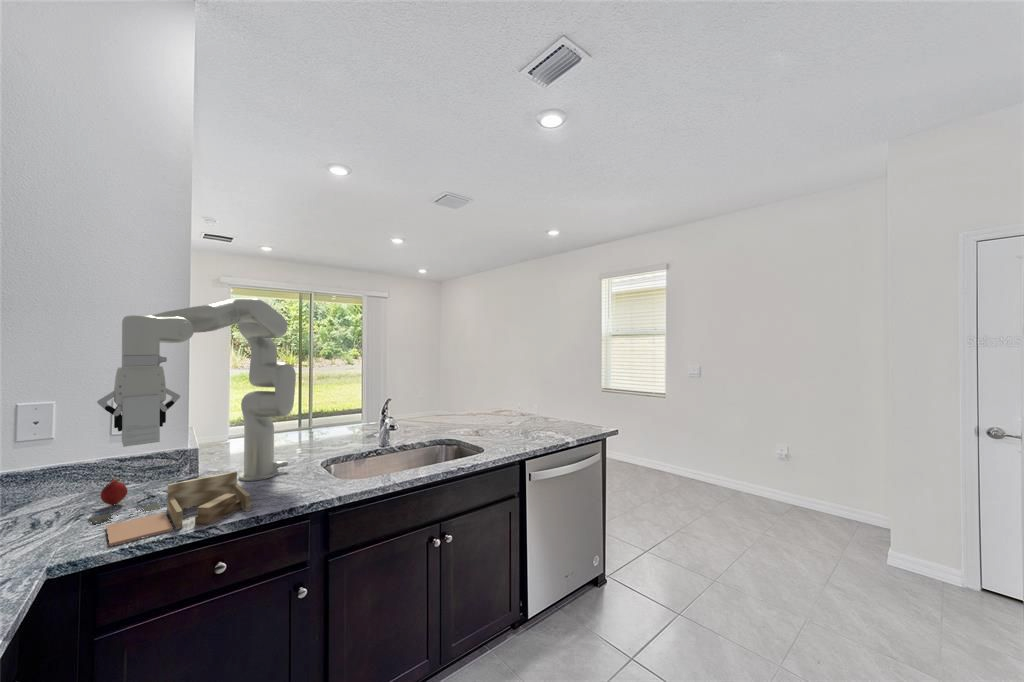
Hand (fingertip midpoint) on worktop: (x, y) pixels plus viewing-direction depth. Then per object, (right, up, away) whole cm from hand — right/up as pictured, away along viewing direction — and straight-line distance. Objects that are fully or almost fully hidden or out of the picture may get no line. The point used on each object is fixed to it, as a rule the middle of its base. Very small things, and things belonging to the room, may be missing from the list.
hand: (140, 427), depth 110 cm
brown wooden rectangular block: (+15, -28, +9) cm, 32 cm away
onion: (-22, -27, +16) cm, 39 cm away
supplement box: (0, -4, 0) cm, 4 cm away
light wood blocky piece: (+9, -27, +12) cm, 31 cm away
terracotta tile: (0, -27, 0) cm, 27 cm away
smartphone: (-13, -28, +10) cm, 32 cm away
